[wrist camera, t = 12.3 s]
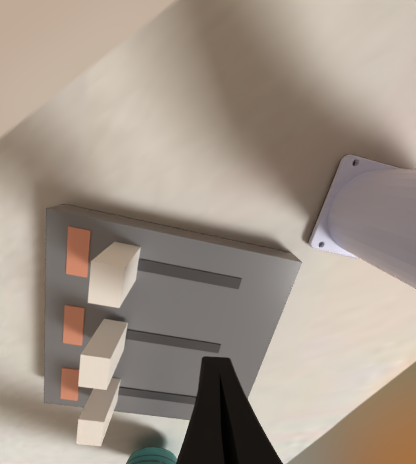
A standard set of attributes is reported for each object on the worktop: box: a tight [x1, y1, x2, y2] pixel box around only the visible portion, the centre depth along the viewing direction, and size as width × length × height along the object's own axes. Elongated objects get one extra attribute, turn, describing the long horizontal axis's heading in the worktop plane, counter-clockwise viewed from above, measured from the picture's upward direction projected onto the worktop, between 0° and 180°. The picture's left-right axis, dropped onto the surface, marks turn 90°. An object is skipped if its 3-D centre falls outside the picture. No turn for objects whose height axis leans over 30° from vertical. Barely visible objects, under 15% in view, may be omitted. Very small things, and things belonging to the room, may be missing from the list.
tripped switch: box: [78, 319, 128, 390], centre depth 16 cm, size 2×3×4 cm, turn 167°
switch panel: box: [44, 204, 302, 446], centre depth 18 cm, size 20×20×6 cm
